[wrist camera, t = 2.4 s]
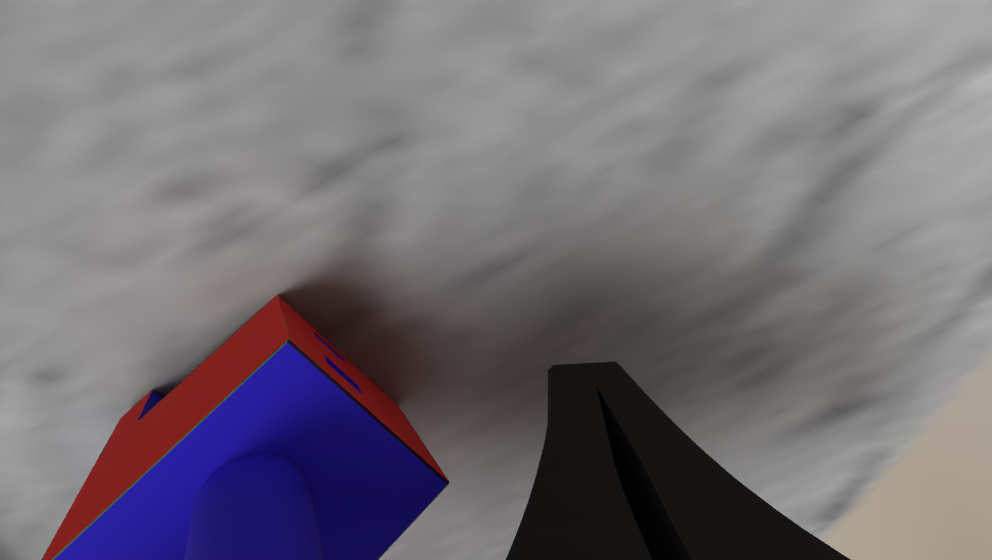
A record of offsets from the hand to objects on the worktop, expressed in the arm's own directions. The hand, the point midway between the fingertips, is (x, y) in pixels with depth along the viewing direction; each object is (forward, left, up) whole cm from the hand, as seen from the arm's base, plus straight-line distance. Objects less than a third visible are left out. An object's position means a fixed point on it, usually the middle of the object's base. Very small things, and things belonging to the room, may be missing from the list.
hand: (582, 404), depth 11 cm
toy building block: (0, +6, -1) cm, 6 cm away
